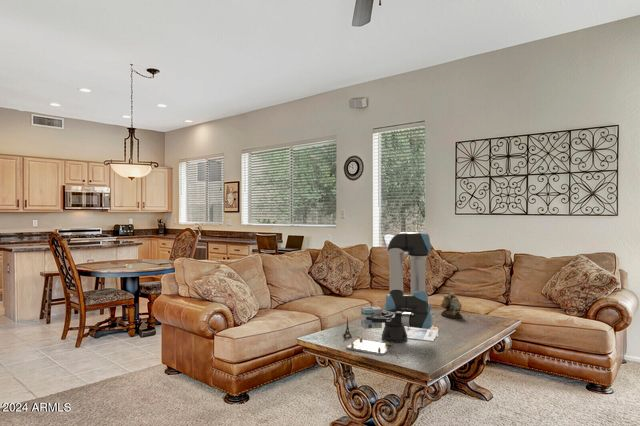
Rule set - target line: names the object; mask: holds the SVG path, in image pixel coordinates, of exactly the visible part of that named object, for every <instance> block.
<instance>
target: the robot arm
mask: <svg viewBox="0 0 640 426" xmlns="http://www.w3.org/2000/svg"><path fill="white" fill-rule="evenodd" d="M431 252H432V247H431V241H430V235H429V234H428V233H427V232H424V231H423V232H422V231H416V232H414V231H412V232H410V231H409V232H405V231H402V232H399V233H397V234H395V235H394V236H393V237H392V238H391V239H390V240H389V243H388V246H387V252H386V254H387V255H388V258H389V261H388V262H389V264H388V265H389V266H388V267H389V268H388V271H389V274H388V277H389V291H388V292H389V293H388V294H386V295H385V303H384V309H382V316H373V315H372V316H370V315H361V314H360V320H368V321H372V322H374V323H382V324H384V326H383V330H382V333H381V339H382V340H383V341H384V342H386V341H388V343H394V344H395V343H396V344H397V343H405V342H407V341H408V334H407V330H406V327H407V328H408V329H409V328H416V329H421V330H423V329H424V330H431V328H432V327H433V315H432V314H431V306H432V305H431V303H430V302H429V295H428V293H427V291H426V277H427V276H426V272H427V271H426V266H427V265H426V263H427V261H426V260H427V258H428V257H429V254H430V253H431ZM405 253H408V254H407V255H408V256H409V257H410V294H404V264H403V263H404V262H403V261H404V259H403V256H404V255H405Z"/></svg>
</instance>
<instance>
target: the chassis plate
mask: <svg viewBox="0 0 640 426" xmlns="http://www.w3.org/2000/svg"><path fill="white" fill-rule="evenodd" d="M359 337H360V338H357V339H356V340H354V341H353V342H351V343H350V344H348V345H347V346H346V347H345V348H346V350H350V351H355V352H360V353H367V354H371V355H372V354H373V355H377V356H384V355H385V354H387V353H388V352H389V351H390V350H391V349H393V348H394V344H390V343H389V342H388V341H385V342H384V343H383V342H377V341H373V340H372V341H371V340H365V339H363V336H359Z"/></svg>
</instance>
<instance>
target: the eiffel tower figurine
mask: <svg viewBox="0 0 640 426" xmlns="http://www.w3.org/2000/svg"><path fill="white" fill-rule="evenodd" d="M338 336H342V338H343V339H353V337H357V339H360V337H361V336H359V335H355V334H351V332H350V328H349V317H348V316H347V318H346V329H345V331H344V333H342V334H340V335H339V334H337V335H335V337H338Z"/></svg>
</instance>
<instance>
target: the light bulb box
mask: <svg viewBox="0 0 640 426" xmlns="http://www.w3.org/2000/svg"><path fill="white" fill-rule="evenodd" d="M360 309H361V311H360V316H361V315H370V316H372V315H373V316H382V310H383V309H382V308H381V307H380V306H361V307H360ZM360 320H361V319H360ZM382 325H383V323H374V322H372V321H368V320H361V321H360V326H361V327H362V328H363V329H365V330H367V329H368V330H369V329H382V328H383V327H382Z"/></svg>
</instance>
